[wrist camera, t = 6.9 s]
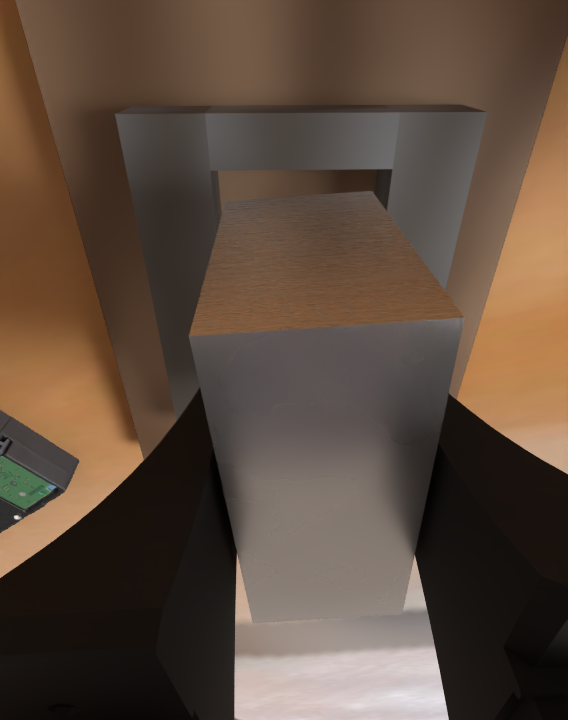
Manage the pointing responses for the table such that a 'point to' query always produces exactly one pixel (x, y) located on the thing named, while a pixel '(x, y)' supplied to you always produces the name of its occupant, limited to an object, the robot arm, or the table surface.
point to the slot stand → (282, 142)
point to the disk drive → (29, 471)
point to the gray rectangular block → (323, 399)
